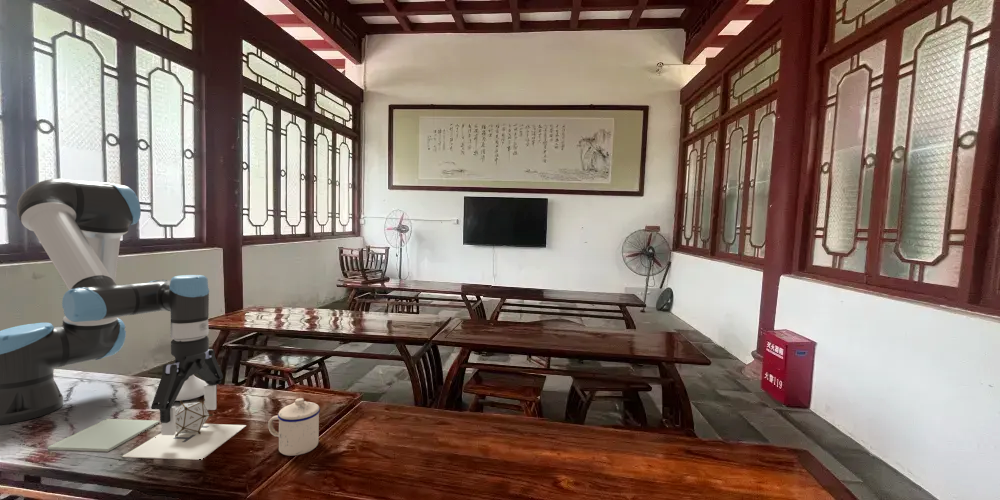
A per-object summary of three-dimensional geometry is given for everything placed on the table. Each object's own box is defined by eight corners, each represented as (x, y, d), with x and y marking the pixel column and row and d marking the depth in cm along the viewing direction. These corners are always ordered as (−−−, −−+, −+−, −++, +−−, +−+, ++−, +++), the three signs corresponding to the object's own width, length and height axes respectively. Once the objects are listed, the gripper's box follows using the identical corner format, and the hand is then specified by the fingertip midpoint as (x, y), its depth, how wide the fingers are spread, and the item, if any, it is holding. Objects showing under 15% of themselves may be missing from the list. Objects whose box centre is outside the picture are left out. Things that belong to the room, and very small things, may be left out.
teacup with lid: (326, 437, 103) (326, 392, 102) (308, 457, 93) (308, 408, 93) (279, 435, 103) (279, 390, 102) (256, 455, 94) (257, 406, 93)
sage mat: (47, 449, 93) (47, 446, 93) (106, 421, 107) (106, 418, 107) (108, 451, 93) (108, 449, 93) (159, 422, 107) (159, 420, 107)
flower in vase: (217, 395, 126) (218, 315, 124) (173, 408, 116) (172, 321, 115) (198, 385, 132) (198, 309, 131) (155, 396, 123) (154, 315, 122)
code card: (121, 457, 91) (121, 456, 91) (178, 423, 107) (178, 422, 107) (201, 460, 91) (201, 458, 91) (246, 425, 107) (246, 425, 107)
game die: (191, 450, 101) (180, 431, 95) (165, 434, 102) (153, 414, 96) (223, 420, 108) (215, 400, 102) (198, 405, 109) (189, 384, 103)
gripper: (163, 352, 89) (164, 447, 89) (237, 326, 113) (238, 400, 114) (129, 351, 89) (130, 446, 89) (211, 325, 114) (211, 400, 114)
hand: (190, 421), depth 102 cm, fingers open, 13 cm apart
